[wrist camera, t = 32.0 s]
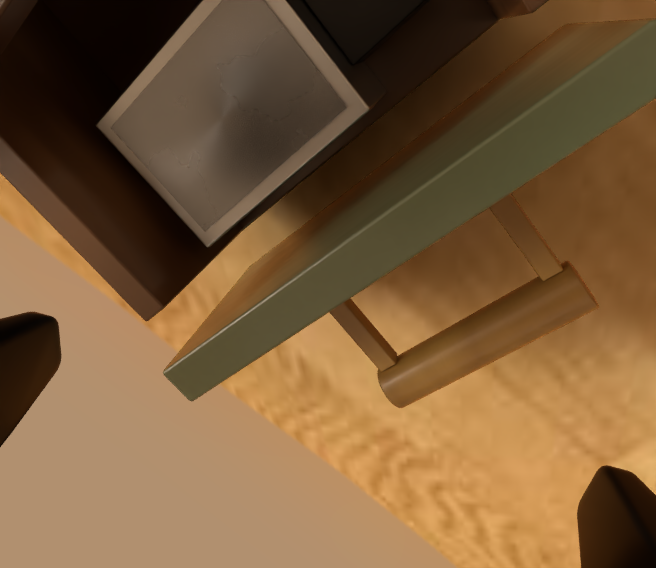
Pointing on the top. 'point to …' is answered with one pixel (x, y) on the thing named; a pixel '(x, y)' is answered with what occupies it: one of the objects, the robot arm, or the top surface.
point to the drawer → (344, 213)
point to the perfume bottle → (248, 100)
